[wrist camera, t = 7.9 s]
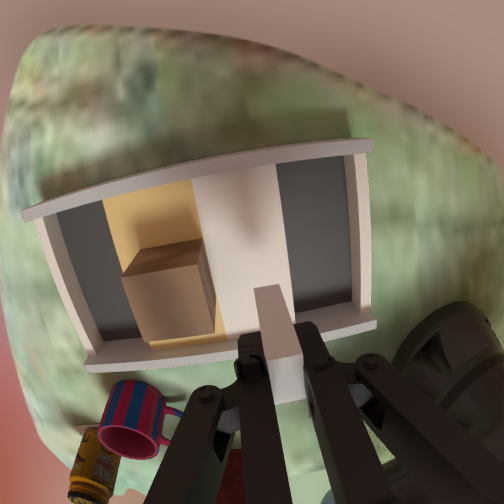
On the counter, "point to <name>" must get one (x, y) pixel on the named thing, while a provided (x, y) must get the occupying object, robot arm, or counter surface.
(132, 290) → the block
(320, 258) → the box
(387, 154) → the counter surface
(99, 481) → the condiment
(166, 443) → the mug
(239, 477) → the dark red tall piece
